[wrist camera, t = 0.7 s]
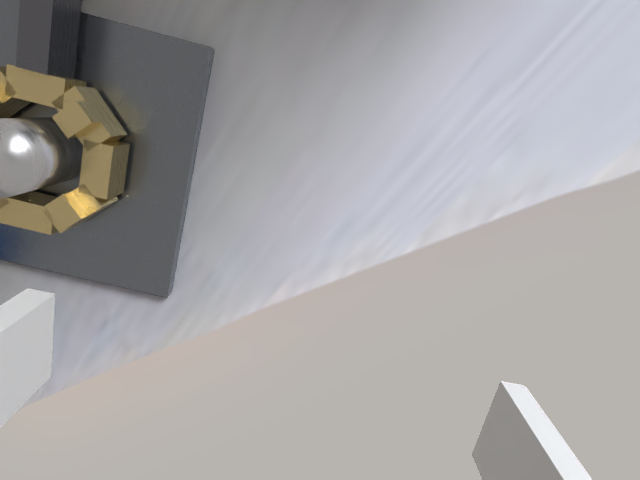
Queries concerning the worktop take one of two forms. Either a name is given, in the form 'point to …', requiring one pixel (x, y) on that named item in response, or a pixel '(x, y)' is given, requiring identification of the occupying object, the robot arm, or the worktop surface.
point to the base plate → (142, 134)
